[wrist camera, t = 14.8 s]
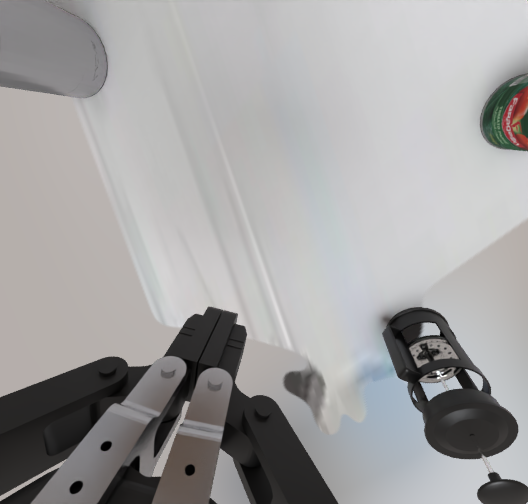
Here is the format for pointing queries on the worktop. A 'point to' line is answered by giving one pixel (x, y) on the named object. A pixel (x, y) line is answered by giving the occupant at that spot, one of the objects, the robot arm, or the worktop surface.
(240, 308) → the worktop surface
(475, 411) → the french press
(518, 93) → the canned tomato
